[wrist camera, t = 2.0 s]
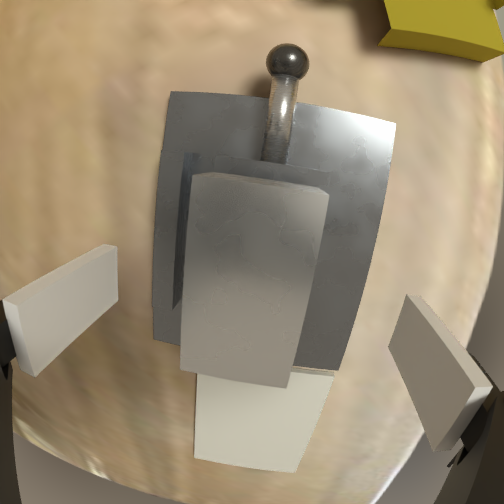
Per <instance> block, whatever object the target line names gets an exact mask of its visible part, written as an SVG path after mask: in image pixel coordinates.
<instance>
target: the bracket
mask: <svg viewBox="0 0 504 504" xmlns="http://www.w3.org/2000/svg"><path fill="white" fill-rule="evenodd" d="M384 3H385V7H386V11H387V14H388V18H389V22H390V26H391V29H390V30H389V32H388V33H387V34H386V35H385V36H384V38H383V39H382V40H381V41H380V42H379V44H378V45H377V46H384V47H396V48H406V49H414V50H422V51H429V52H435V53H441V54H447V55H452V56H457V57H462V58H467V59H471V60H476V61H480V62H485V61H488V60H490V59H493V58H495V57H498V56H500V55H502V54H504V43H503V39H502V36H501V32H500V29H499V26H498V23H497V20H496V17H495V14H494V11H493V9H495V10H497V9H499V8H501V7H502V6H504V0H384Z"/></svg>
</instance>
